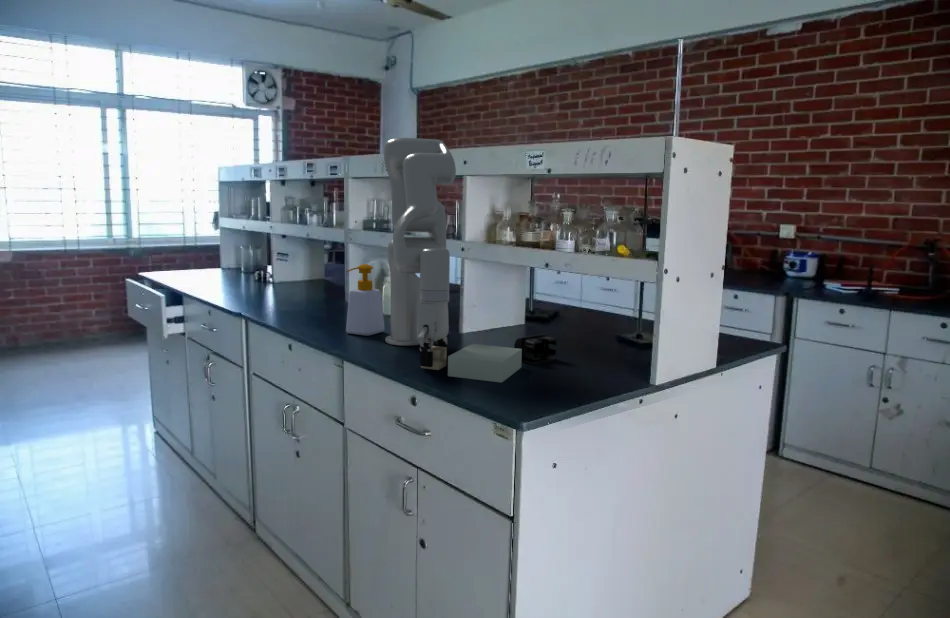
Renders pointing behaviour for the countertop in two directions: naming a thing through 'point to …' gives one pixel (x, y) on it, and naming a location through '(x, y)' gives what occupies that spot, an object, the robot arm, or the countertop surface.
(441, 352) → the maple cube
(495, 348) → the sage stand
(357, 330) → the soap bottle
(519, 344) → the end cap
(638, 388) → the countertop surface
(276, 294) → the countertop surface
